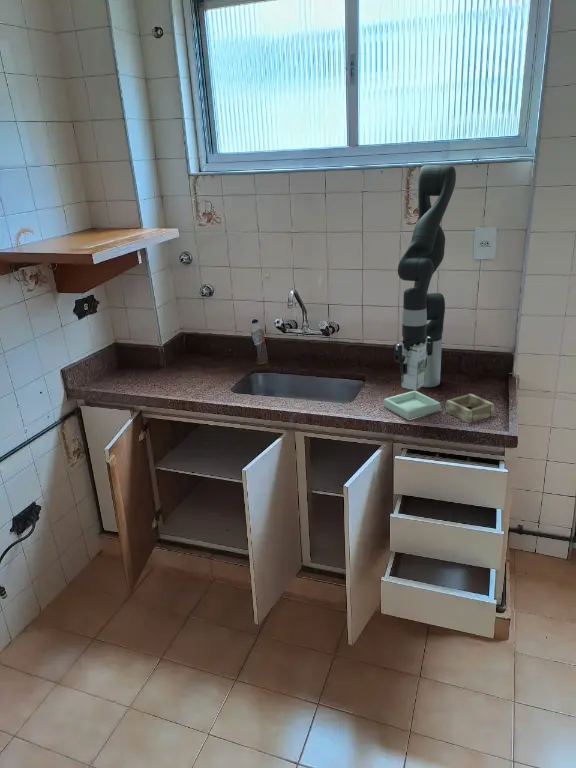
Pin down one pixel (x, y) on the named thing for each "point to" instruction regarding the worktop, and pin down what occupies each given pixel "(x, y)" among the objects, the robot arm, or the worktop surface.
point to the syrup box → (415, 368)
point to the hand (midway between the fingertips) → (413, 371)
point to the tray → (412, 404)
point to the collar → (462, 412)
